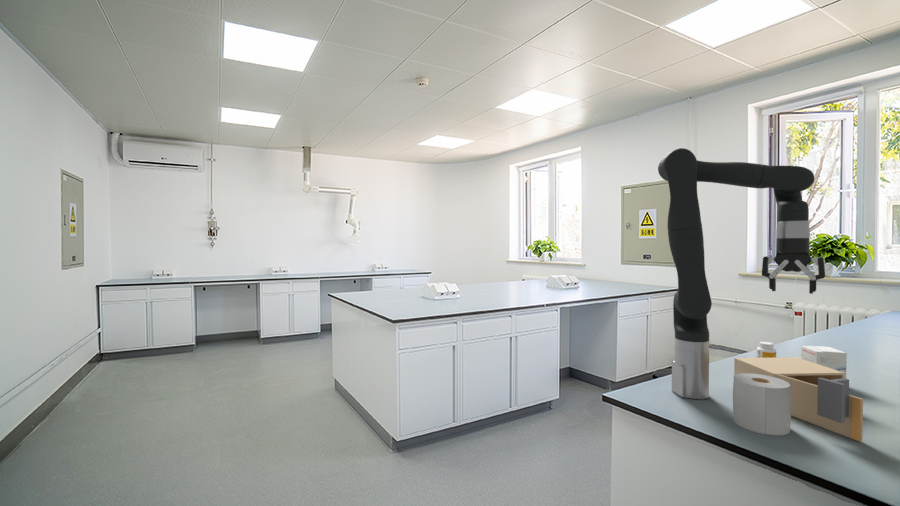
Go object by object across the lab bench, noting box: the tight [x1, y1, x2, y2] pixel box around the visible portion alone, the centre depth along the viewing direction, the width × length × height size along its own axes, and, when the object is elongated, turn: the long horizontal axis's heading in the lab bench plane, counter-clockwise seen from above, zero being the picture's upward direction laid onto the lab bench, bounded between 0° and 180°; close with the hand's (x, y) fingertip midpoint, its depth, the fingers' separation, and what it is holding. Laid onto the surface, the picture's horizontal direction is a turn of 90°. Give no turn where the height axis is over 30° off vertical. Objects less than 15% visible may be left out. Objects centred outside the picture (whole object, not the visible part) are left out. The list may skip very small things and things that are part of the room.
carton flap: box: [774, 373, 864, 442], centre depth 106 cm, size 20×6×14 cm, turn 16°
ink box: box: [800, 345, 848, 379], centre depth 137 cm, size 9×8×12 cm
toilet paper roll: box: [732, 373, 792, 437], centre depth 107 cm, size 12×12×12 cm
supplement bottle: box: [756, 341, 777, 358], centre depth 151 cm, size 6×6×10 cm
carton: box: [733, 356, 845, 386], centre depth 125 cm, size 20×16×10 cm
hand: (792, 292), depth 123 cm, fingers open, 8 cm apart
